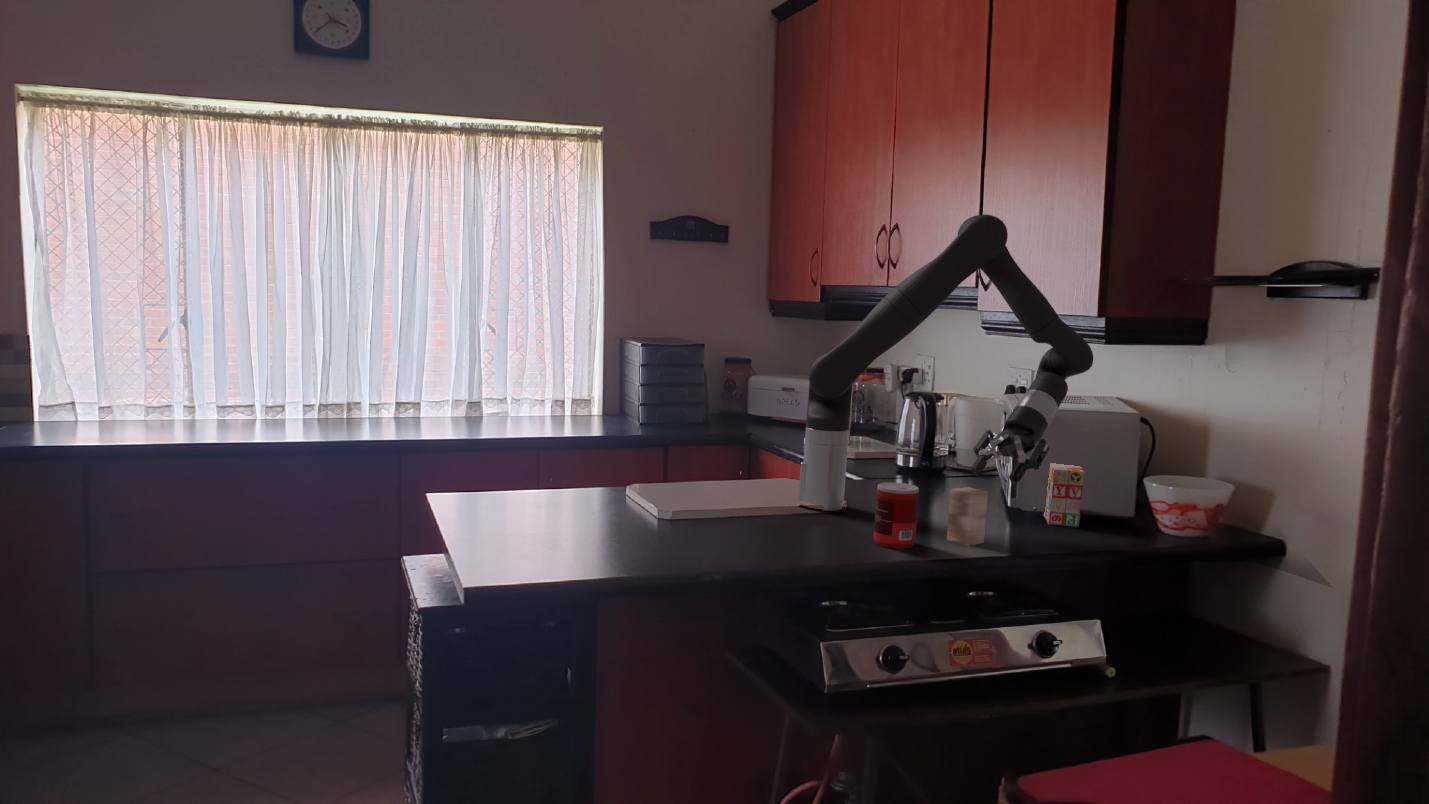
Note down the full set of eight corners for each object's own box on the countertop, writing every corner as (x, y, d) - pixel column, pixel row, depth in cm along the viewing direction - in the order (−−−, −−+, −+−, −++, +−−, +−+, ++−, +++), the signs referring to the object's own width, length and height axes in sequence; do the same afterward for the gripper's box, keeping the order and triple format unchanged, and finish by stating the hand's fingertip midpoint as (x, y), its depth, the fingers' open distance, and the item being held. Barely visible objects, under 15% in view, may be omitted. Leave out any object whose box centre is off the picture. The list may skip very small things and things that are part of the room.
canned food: (919, 542, 189) (923, 485, 187) (908, 551, 181) (913, 492, 180) (879, 536, 192) (884, 480, 191) (868, 545, 185) (872, 486, 183)
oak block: (946, 539, 192) (950, 489, 191) (962, 536, 195) (966, 486, 194) (968, 545, 188) (972, 493, 187) (983, 542, 192) (988, 491, 191)
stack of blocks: (1035, 505, 232) (1040, 452, 230) (1063, 507, 230) (1068, 455, 229) (1048, 525, 211) (1054, 468, 209) (1079, 528, 210) (1085, 470, 208)
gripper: (994, 400, 205) (956, 458, 199) (1057, 408, 194) (1018, 471, 188) (1007, 424, 209) (970, 482, 203) (1069, 434, 198) (1031, 496, 192)
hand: (993, 477), depth 195 cm, fingers open, 8 cm apart
